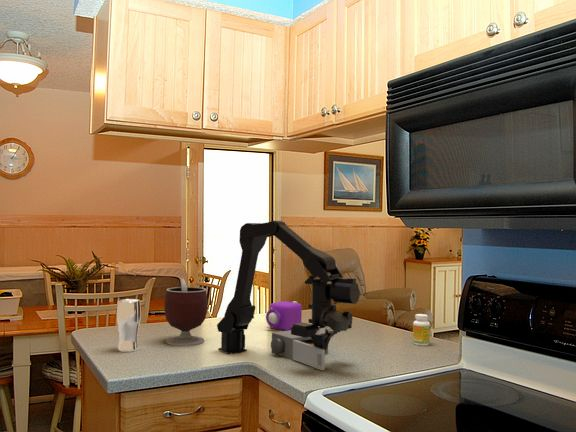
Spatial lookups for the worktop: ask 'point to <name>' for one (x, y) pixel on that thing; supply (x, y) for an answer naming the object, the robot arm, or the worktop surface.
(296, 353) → the camera door
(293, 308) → the toy camera
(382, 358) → the worktop surface
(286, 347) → the box
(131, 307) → the beer glass
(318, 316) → the robot arm
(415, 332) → the supplement bottle
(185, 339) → the mate gourd
